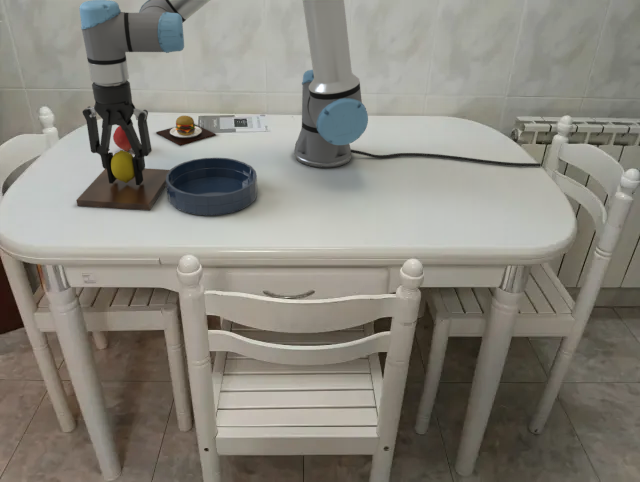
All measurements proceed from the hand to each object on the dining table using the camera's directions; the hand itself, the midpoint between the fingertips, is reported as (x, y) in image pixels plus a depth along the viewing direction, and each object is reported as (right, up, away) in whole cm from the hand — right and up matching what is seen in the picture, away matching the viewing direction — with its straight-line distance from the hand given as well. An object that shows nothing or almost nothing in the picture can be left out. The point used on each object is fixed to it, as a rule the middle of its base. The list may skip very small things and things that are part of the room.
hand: (126, 181), depth 128 cm
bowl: (+20, -3, +1) cm, 20 cm away
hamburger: (+6, +17, +32) cm, 36 cm away
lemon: (0, 0, 0) cm, 1 cm away
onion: (-7, +10, +20) cm, 24 cm away
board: (0, -2, +1) cm, 2 cm away
